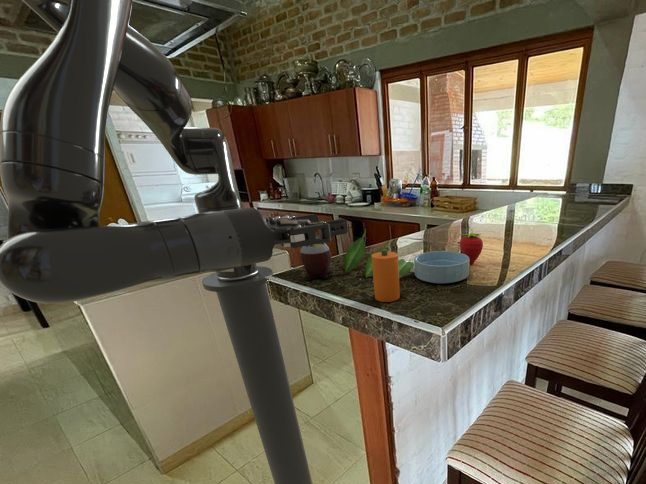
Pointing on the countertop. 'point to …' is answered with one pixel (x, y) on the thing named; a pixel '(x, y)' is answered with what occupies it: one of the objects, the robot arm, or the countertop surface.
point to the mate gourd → (316, 260)
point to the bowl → (441, 266)
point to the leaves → (370, 258)
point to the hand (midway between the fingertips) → (330, 223)
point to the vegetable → (386, 276)
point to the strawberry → (471, 246)
